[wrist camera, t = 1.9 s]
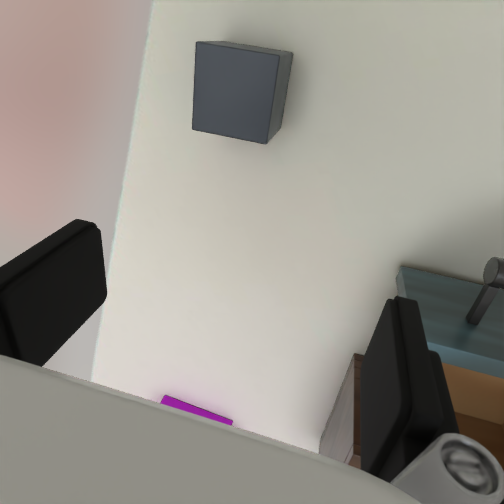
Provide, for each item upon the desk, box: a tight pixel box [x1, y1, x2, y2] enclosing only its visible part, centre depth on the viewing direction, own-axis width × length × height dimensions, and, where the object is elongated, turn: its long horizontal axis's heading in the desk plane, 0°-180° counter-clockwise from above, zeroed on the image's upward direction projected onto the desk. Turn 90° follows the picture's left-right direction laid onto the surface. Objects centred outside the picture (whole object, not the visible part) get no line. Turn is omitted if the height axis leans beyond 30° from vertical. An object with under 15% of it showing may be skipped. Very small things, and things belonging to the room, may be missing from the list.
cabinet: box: [319, 354, 364, 470], centre depth 32 cm, size 14×15×10 cm
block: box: [192, 41, 293, 144], centre depth 22 cm, size 5×5×5 cm
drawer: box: [396, 257, 504, 471], centre depth 25 cm, size 17×13×8 cm
